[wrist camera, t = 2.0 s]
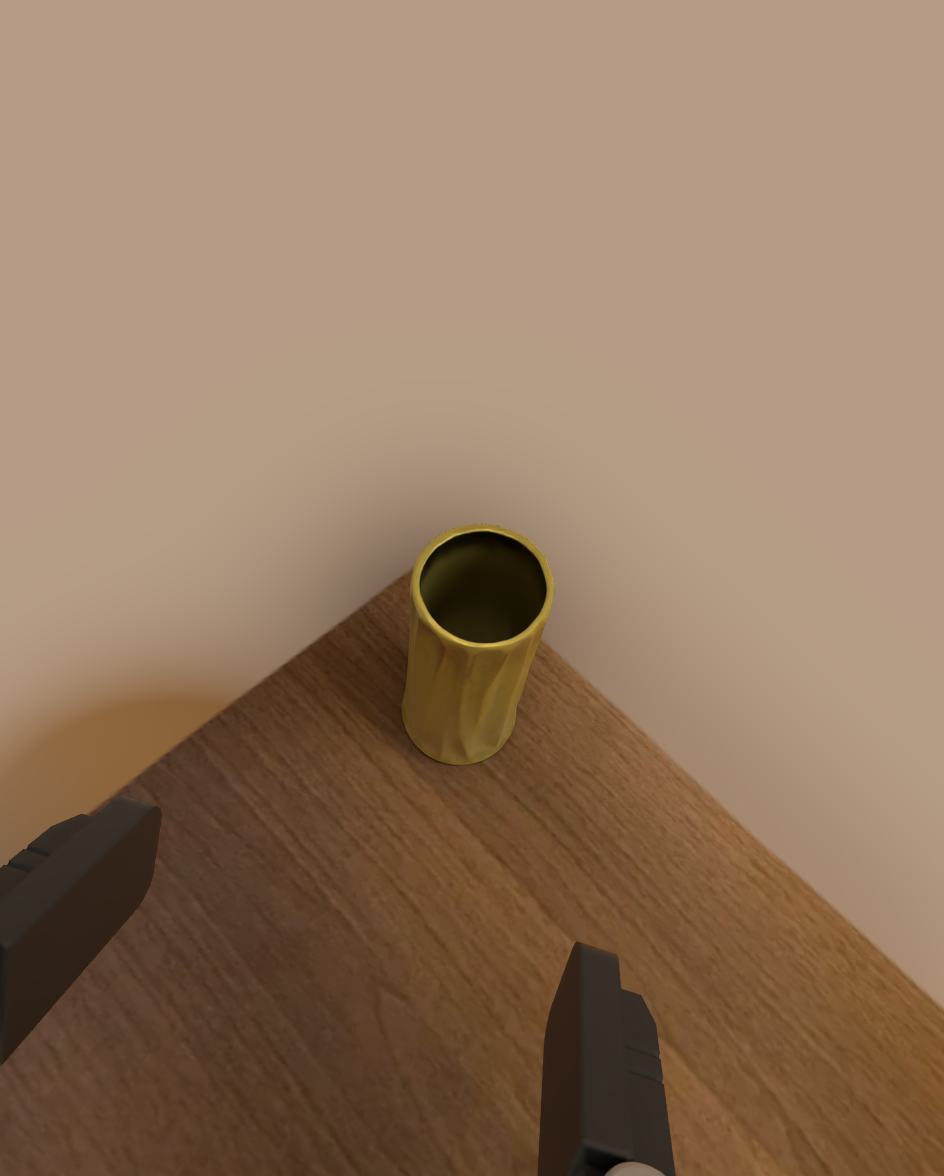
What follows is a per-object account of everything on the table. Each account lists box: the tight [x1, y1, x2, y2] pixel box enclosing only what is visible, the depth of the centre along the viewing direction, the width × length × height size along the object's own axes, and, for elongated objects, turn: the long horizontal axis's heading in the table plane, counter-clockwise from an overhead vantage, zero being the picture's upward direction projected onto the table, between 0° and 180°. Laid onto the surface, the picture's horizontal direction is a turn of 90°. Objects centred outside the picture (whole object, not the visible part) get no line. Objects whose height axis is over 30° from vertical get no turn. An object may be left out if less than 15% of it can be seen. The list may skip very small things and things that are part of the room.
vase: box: [402, 524, 554, 765], centre depth 32 cm, size 6×6×14 cm
